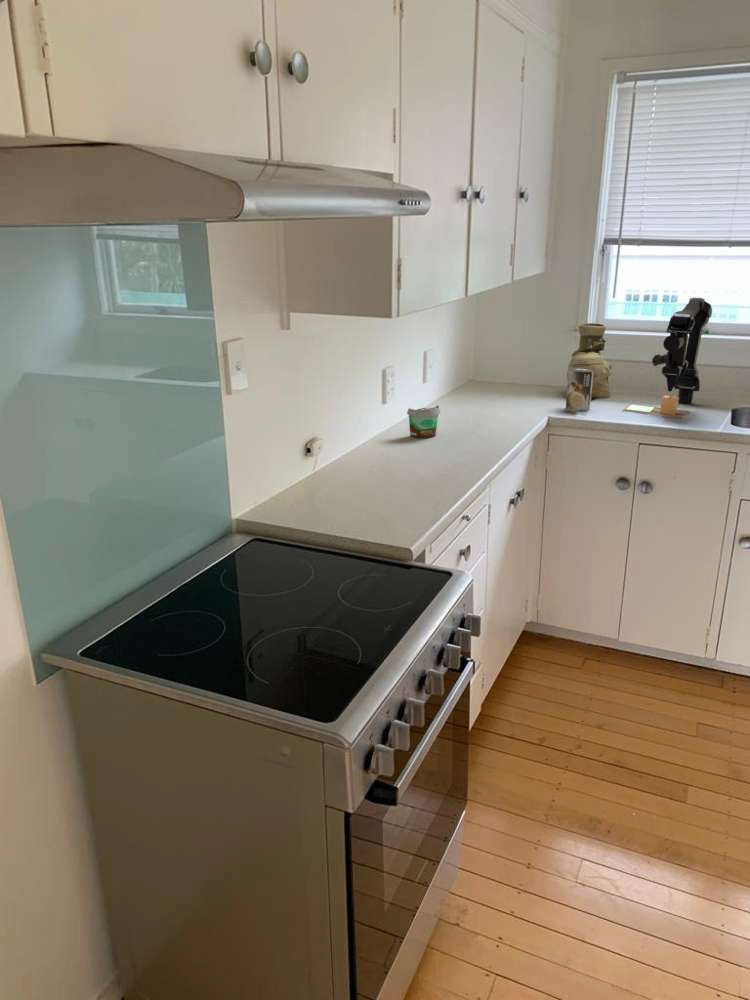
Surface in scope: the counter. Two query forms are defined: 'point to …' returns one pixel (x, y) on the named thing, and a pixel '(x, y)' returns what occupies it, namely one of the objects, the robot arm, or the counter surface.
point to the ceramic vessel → (593, 358)
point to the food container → (423, 422)
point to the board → (657, 412)
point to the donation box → (669, 405)
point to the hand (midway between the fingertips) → (671, 389)
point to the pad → (640, 408)
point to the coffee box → (579, 389)
